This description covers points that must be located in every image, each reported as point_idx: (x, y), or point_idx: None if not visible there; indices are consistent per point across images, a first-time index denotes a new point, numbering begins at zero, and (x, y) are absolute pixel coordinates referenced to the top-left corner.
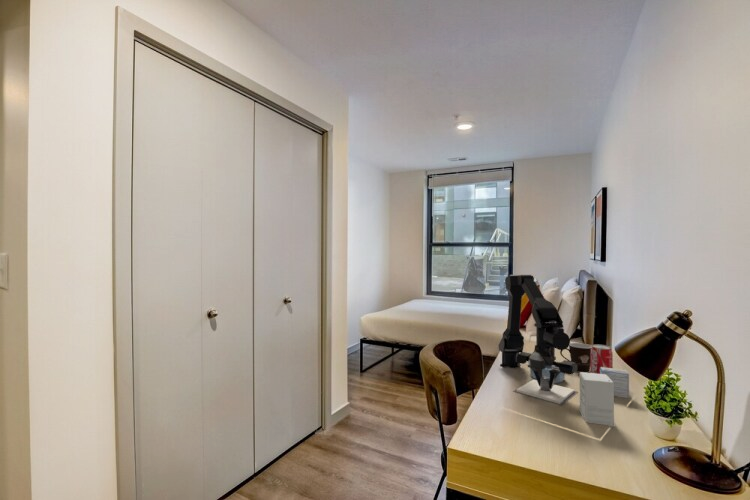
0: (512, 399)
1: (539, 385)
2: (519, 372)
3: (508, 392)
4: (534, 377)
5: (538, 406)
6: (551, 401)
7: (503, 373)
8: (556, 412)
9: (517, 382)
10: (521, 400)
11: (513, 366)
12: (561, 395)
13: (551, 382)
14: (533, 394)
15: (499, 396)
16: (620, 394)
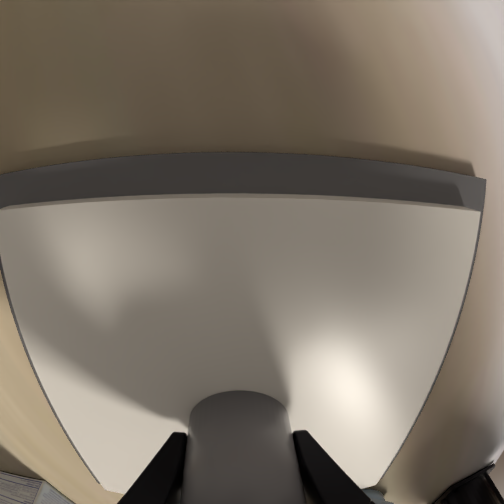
0: (417, 16)
1: (301, 433)
2: (434, 485)
3: (497, 169)
4: (371, 500)
5: (149, 5)
6: (70, 198)
7: (499, 428)
8: (7, 39)
9: (456, 406)
10: (353, 31)
11: (454, 492)
12: (62, 374)
13: (143, 488)
14: (294, 199)
15: (496, 40)
16: (5, 482)
